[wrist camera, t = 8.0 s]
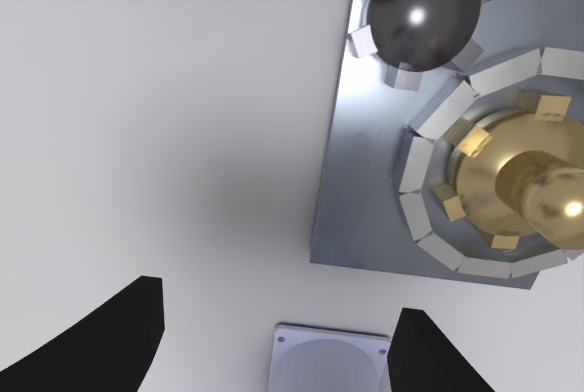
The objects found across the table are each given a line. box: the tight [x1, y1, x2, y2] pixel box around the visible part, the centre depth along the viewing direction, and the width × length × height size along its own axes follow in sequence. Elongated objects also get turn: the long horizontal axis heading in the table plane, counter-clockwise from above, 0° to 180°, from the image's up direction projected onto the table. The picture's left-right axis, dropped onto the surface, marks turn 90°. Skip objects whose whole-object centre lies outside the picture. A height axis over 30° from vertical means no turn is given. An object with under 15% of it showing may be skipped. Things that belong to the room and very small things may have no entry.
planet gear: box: [432, 90, 584, 250], centre depth 15 cm, size 7×7×5 cm
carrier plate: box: [310, 0, 584, 290], centre depth 16 cm, size 16×15×3 cm
